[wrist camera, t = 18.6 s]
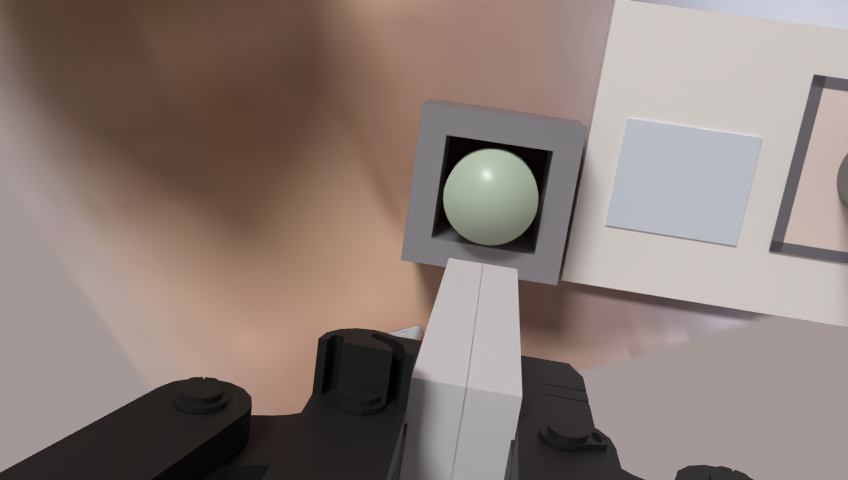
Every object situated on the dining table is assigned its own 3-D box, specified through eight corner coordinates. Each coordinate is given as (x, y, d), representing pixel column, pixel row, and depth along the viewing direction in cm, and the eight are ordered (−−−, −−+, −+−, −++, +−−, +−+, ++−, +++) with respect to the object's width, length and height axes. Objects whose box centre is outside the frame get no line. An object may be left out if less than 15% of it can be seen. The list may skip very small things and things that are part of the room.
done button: (543, 154, 33) (546, 159, 32) (528, 241, 34) (529, 252, 32) (454, 140, 34) (450, 144, 32) (441, 227, 35) (437, 237, 33)
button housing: (579, 121, 35) (587, 127, 32) (552, 265, 37) (557, 285, 34) (430, 99, 36) (422, 102, 32) (410, 242, 37) (400, 259, 34)
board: (1034, 57, 33) (1046, 57, 32) (944, 339, 36) (952, 345, 35) (613, -1, 34) (616, -2, 33) (561, 277, 37) (561, 281, 36)
